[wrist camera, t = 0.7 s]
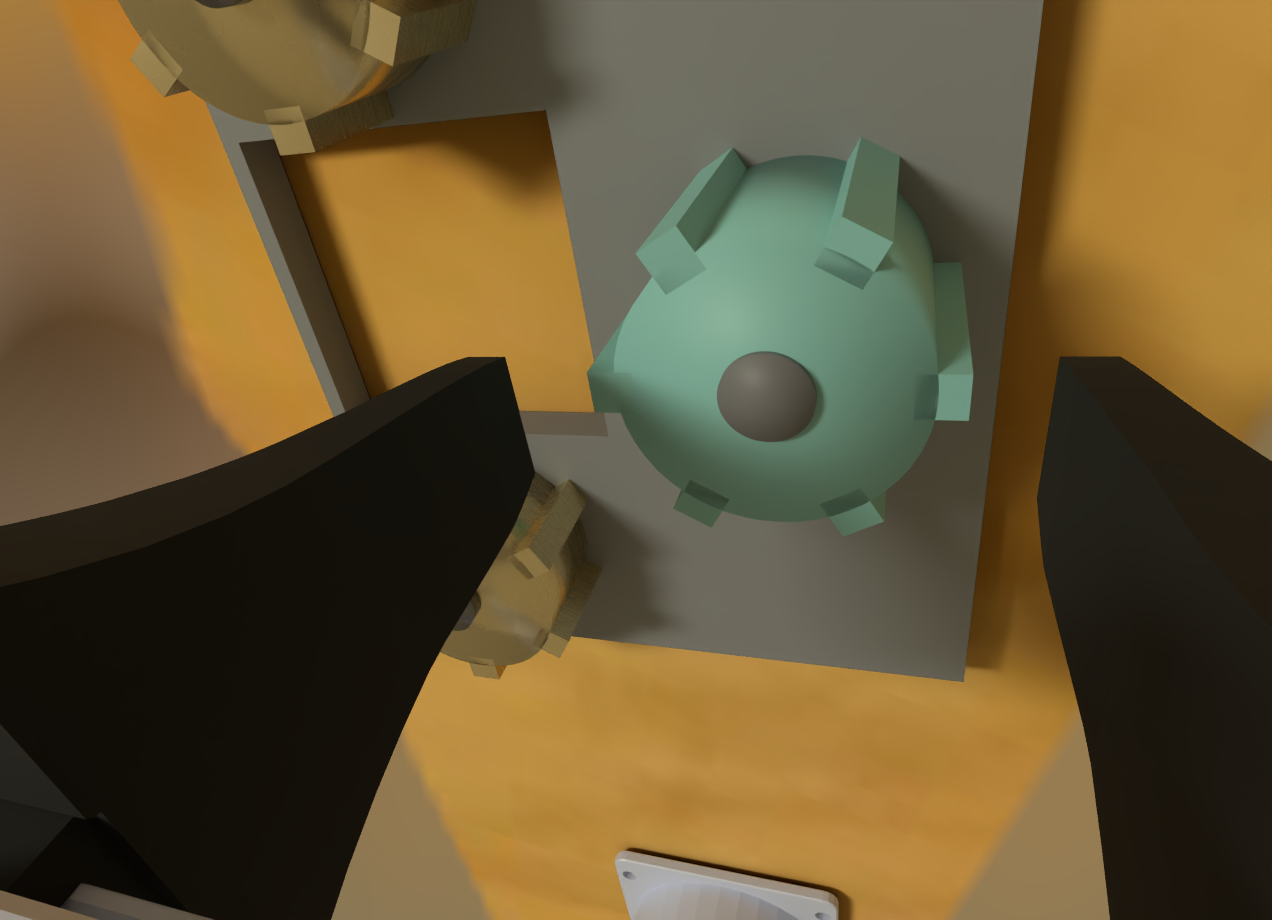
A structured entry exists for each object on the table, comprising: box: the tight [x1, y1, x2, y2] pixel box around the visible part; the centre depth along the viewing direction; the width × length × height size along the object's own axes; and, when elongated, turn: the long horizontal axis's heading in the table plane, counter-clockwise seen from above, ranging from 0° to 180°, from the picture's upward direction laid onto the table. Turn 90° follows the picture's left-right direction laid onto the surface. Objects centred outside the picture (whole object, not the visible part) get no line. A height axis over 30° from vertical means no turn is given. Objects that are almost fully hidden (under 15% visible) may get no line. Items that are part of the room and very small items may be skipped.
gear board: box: [118, 0, 1044, 682], centre depth 15 cm, size 20×15×4 cm
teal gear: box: [587, 137, 973, 537], centre depth 13 cm, size 5×5×4 cm
